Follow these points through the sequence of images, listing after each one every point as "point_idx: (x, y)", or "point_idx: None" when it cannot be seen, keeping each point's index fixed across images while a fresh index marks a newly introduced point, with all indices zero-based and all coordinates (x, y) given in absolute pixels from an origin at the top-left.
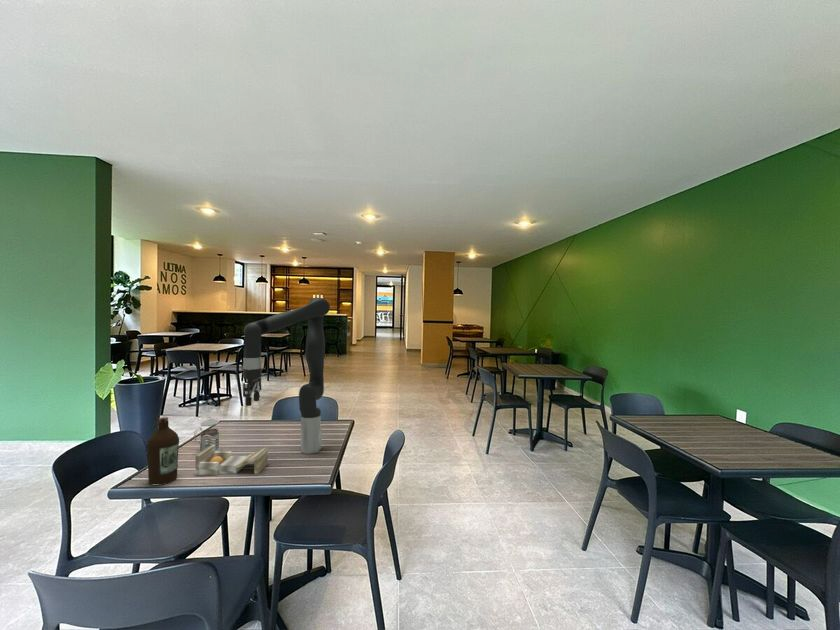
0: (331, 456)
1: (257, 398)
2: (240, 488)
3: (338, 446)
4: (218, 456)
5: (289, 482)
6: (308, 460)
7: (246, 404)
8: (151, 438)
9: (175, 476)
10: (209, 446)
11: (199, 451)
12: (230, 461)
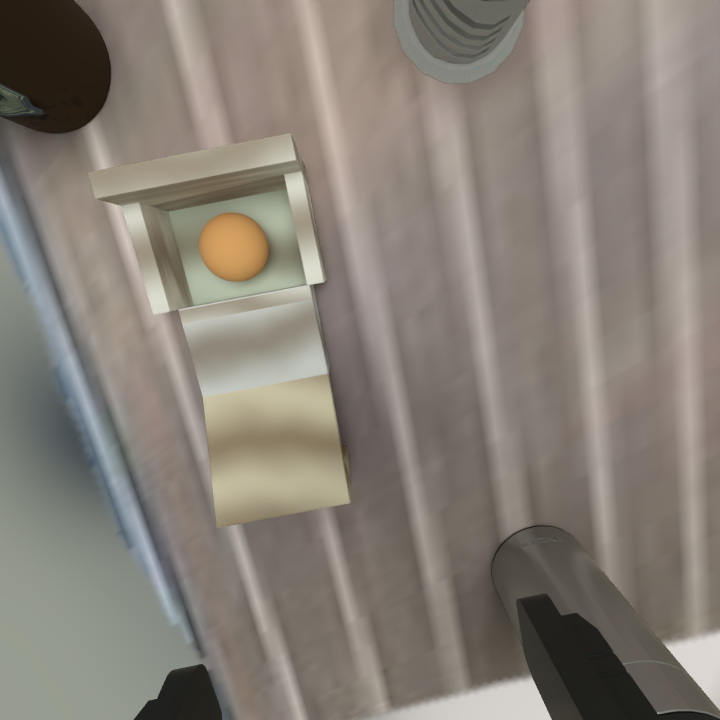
0: (480, 674)
1: (547, 692)
2: (106, 491)
3: None
4: (234, 253)
5: (209, 634)
6: (422, 607)
7: (143, 716)
8: None
9: (60, 126)
10: (425, 18)
11: None
12: (240, 336)
